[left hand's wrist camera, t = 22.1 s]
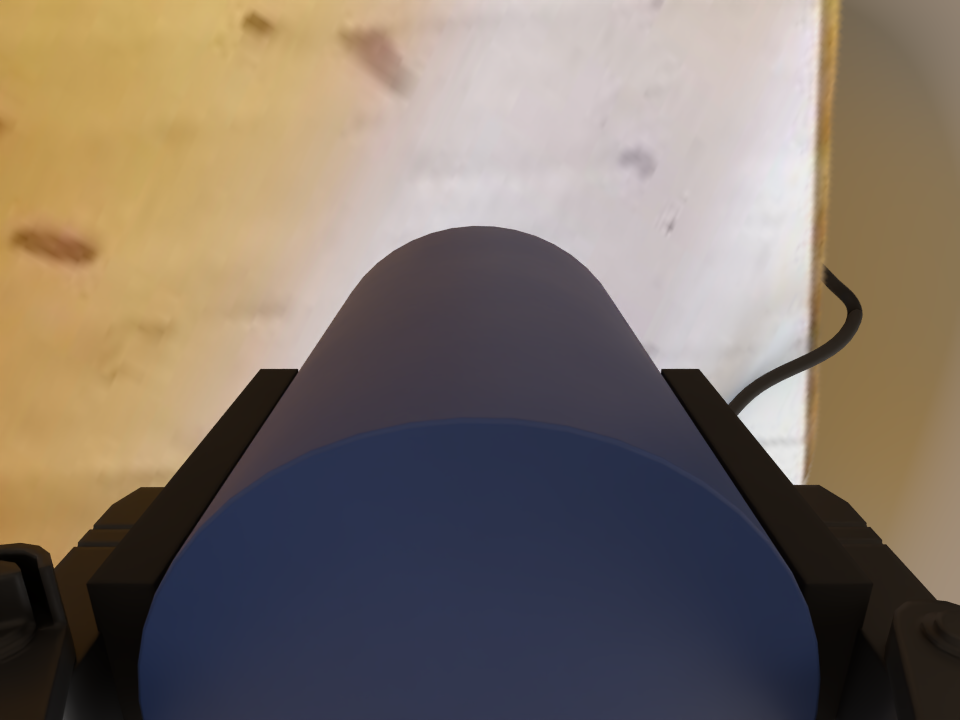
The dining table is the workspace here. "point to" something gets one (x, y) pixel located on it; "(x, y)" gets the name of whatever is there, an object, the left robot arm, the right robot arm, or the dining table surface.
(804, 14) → the dining table surface
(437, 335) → the can
